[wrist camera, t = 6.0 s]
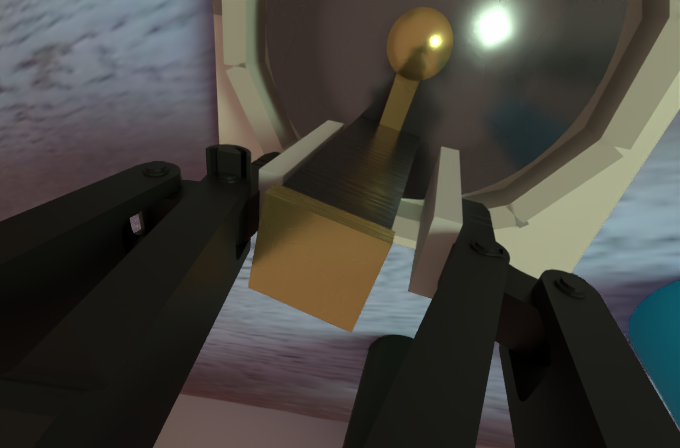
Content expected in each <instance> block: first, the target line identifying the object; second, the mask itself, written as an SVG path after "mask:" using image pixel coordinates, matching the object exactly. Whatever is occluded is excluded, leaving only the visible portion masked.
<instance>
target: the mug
mask: <svg viewBox="0 0 680 448" xmlns="http://www.w3.org/2000/svg"><path fill="white" fill-rule="evenodd" d="M628 336H629V338H630V340H631V343H632V345H633V347H634V349H635V351H636V353H637V354H638V356H639V358H640V360H641V361H642V363H643V365H644V367H645V368H646V370H647V372H648V374H649V375H650V377H651V379H652V381H653V382H654V384H655V386H656V388H657V389H658V391H659V393H660V395H661V396H662V398H663V400H664V402H665V403H666V405H667V407H668V409H669V410H670V412H671V414H672V416H673V417H674V419H675V421H676V423H677V424H678V426H679V428H680V280H678V281H676V282H673V283H671V284H669V285H667V286H664V287H662V288H660V289H658V290H656V291H655V292H654V293H653V294H651V295H650V296H649V297H648V298H646V299H645V300H644V301H643V302H641V303H640V304H639V306H638V307H637V309H636V310H635V312H634V313H633V315H632V316H631V318H630V321H629V331H628Z"/></svg>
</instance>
